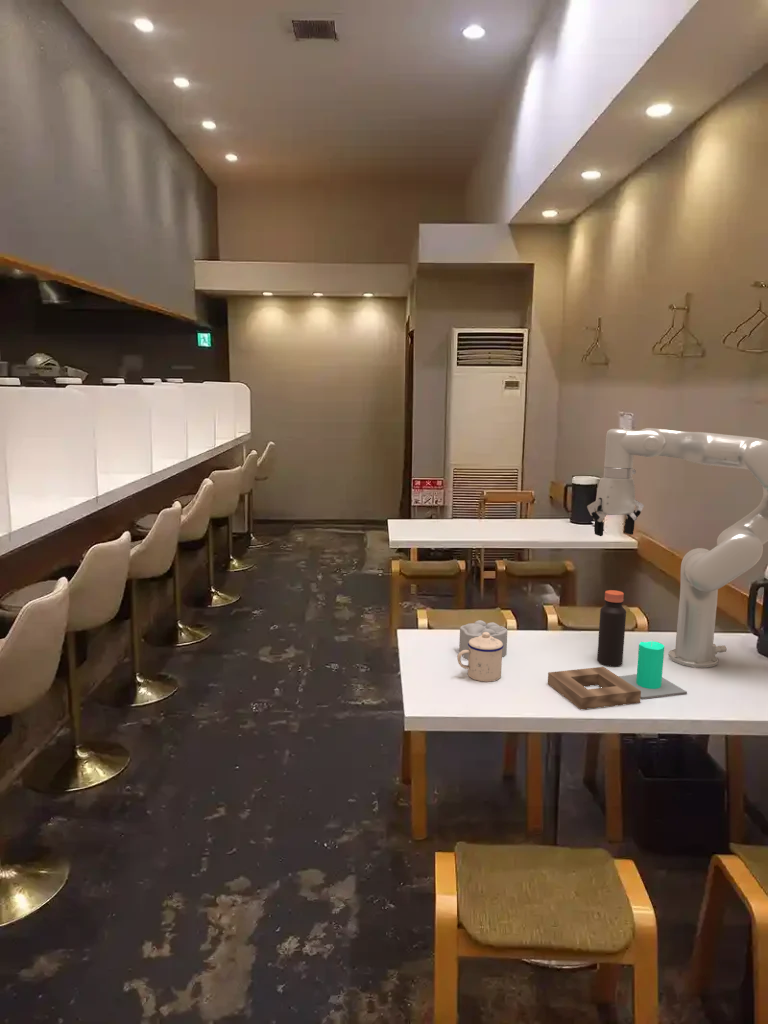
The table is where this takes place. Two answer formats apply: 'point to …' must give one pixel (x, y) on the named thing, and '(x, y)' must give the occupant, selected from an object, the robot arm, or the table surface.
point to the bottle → (612, 630)
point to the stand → (583, 698)
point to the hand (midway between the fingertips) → (613, 534)
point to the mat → (663, 691)
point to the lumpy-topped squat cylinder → (477, 630)
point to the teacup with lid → (483, 658)
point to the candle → (650, 664)
